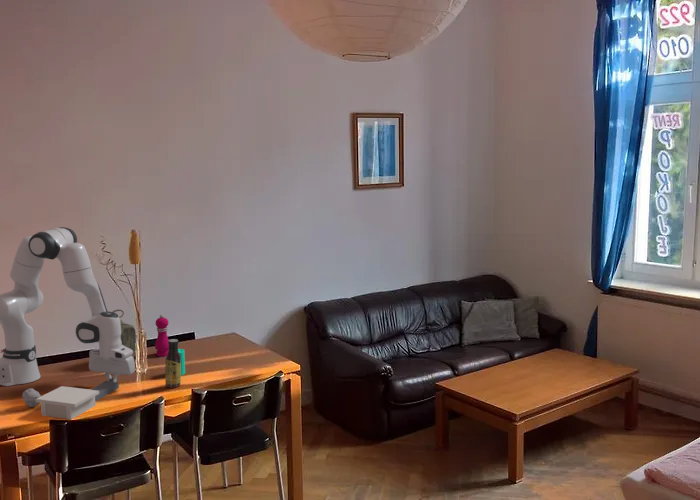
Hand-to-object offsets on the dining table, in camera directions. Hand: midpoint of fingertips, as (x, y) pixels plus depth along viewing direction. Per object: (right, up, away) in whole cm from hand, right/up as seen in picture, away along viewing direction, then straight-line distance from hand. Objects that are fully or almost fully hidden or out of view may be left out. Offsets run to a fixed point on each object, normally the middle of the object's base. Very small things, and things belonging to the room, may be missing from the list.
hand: (112, 382), depth 278 cm
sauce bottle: (+25, -2, +1) cm, 25 cm away
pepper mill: (+9, +5, +43) cm, 44 cm away
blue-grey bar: (-2, -4, -9) cm, 10 cm away
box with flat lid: (-7, -5, -24) cm, 26 cm away
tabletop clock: (-8, +3, +31) cm, 32 cm away
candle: (+23, 0, +16) cm, 28 cm away
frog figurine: (-23, -5, -22) cm, 32 cm away
